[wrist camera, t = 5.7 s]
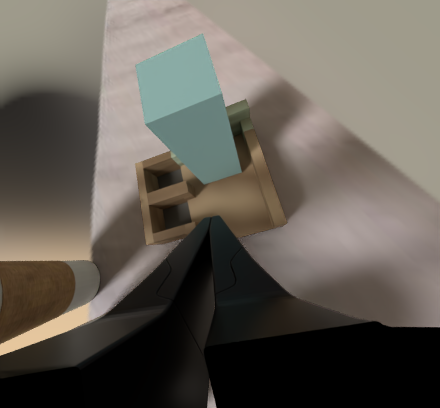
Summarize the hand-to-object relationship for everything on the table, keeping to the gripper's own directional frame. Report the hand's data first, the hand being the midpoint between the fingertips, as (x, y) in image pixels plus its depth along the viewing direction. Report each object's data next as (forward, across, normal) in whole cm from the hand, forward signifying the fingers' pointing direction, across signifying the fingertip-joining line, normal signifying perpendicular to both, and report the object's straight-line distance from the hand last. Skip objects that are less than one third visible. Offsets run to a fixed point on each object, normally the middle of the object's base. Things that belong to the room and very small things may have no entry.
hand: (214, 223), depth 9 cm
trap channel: (+14, +2, +4) cm, 14 cm away
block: (+15, 0, +1) cm, 15 cm away
